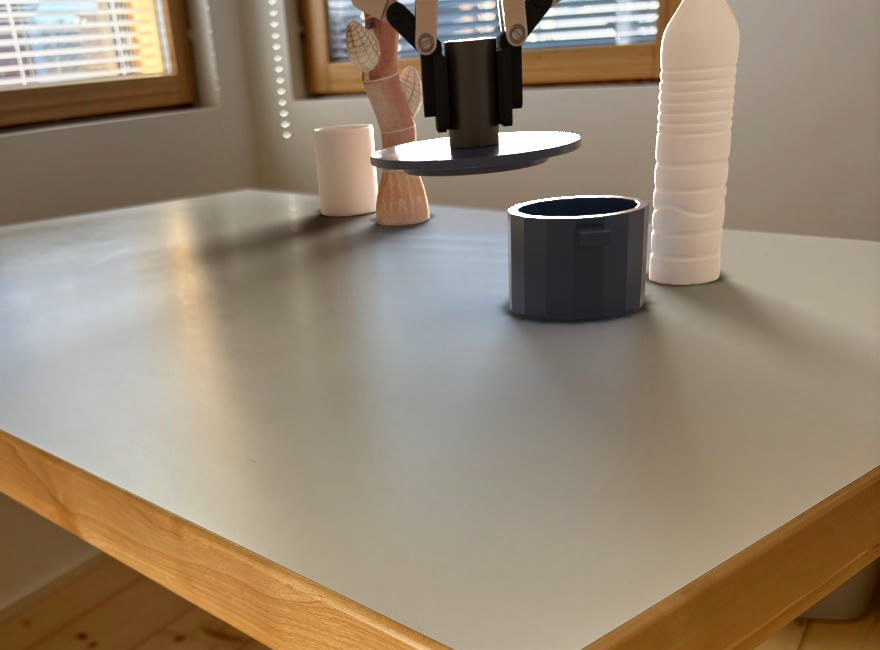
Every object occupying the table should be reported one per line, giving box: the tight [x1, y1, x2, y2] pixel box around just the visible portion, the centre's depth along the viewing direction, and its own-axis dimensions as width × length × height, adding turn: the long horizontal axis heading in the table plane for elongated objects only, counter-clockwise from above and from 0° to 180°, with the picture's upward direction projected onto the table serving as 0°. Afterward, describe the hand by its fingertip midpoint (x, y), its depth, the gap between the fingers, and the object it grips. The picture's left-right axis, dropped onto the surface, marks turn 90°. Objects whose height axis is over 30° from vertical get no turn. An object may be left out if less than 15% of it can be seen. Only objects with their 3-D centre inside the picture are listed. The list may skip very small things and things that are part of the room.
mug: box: [312, 123, 379, 217], centre depth 148 cm, size 12×8×11 cm
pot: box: [507, 195, 650, 323], centre depth 89 cm, size 12×17×8 cm
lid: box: [370, 36, 582, 177], centre depth 61 cm, size 13×13×7 cm
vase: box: [345, 0, 431, 227], centre depth 131 cm, size 10×7×30 cm
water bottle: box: [648, 0, 741, 286], centre depth 92 cm, size 9×6×25 cm
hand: (473, 124), depth 61 cm, fingers closed on lid, 3 cm apart
